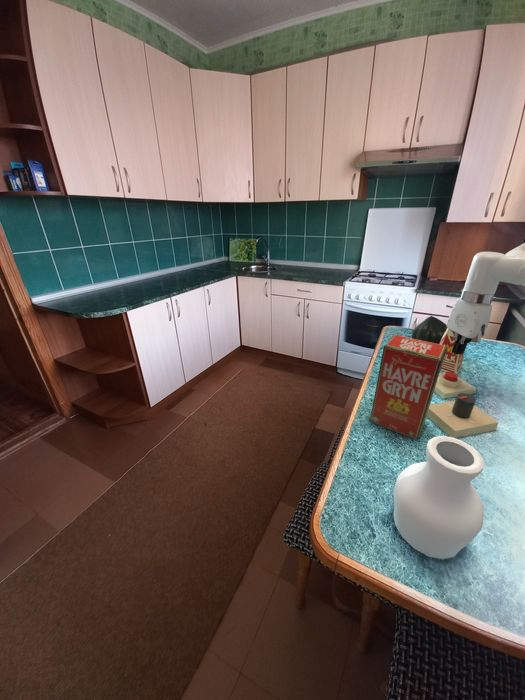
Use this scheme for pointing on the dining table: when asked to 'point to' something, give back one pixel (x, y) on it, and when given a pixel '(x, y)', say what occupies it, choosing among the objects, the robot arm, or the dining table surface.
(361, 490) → the dining table surface
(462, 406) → the timer dial
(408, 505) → the vase
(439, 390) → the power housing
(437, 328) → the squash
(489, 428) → the panel
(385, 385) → the food packaging
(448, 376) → the power button
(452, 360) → the milk carton
